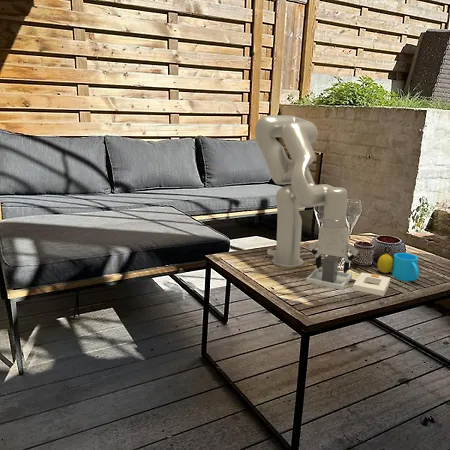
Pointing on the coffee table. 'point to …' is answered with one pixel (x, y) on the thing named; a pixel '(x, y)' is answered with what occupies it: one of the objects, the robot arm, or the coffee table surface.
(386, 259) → the lemon
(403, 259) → the mug
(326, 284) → the tray
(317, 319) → the coffee table surface
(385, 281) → the block
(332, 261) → the plug
